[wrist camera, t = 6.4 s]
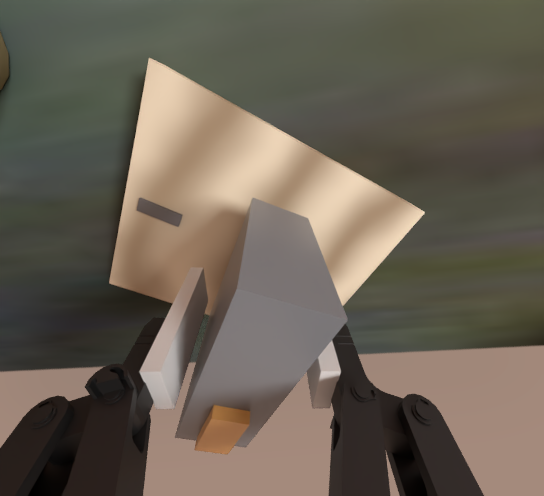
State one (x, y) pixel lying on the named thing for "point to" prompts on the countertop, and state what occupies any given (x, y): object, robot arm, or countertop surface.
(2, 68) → the squeeze bottle
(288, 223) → the grey block
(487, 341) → the countertop surface
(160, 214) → the base
